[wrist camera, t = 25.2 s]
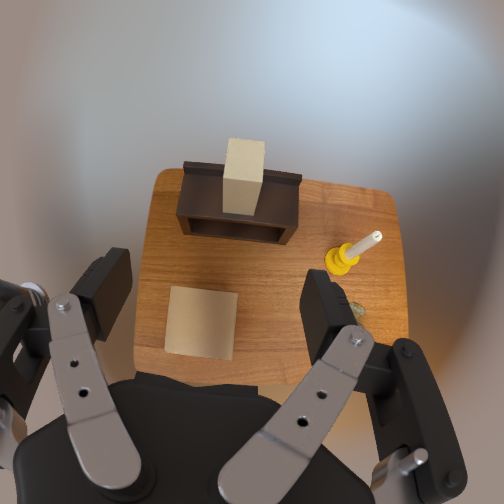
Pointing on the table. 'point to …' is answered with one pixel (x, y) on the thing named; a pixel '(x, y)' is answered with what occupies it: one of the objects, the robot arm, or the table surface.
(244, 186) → the snack box
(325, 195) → the table surface
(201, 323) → the block
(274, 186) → the shelf
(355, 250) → the candle
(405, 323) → the table surface
